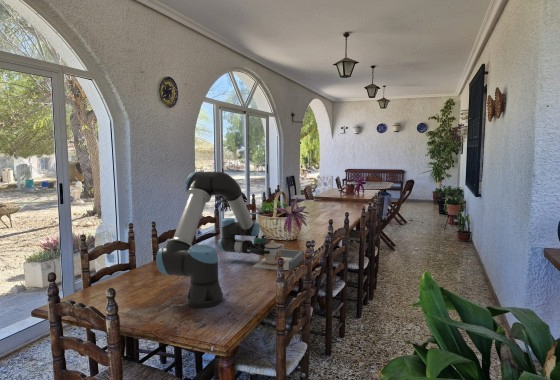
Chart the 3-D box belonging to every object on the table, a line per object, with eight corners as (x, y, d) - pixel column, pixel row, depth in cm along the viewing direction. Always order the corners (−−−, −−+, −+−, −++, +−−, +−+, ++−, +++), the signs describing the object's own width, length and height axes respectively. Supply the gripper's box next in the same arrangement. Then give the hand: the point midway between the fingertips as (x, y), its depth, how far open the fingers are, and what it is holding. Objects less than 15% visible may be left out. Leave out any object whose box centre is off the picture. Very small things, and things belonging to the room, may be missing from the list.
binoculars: (271, 234, 241) (264, 235, 233) (271, 250, 242) (263, 253, 233) (259, 232, 246) (251, 234, 237) (259, 248, 246) (251, 251, 237)
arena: (291, 271, 198) (291, 262, 198) (253, 267, 206) (252, 258, 205) (303, 259, 219) (303, 250, 218) (268, 256, 226) (268, 248, 226)
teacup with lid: (277, 264, 203) (277, 243, 201) (262, 263, 206) (261, 242, 205) (285, 258, 214) (285, 238, 213) (270, 257, 217) (270, 237, 216)
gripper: (253, 247, 227) (287, 250, 220) (234, 259, 205) (272, 262, 197) (252, 235, 226) (287, 237, 219) (234, 245, 204) (271, 248, 196)
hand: (280, 249), depth 208 cm, fingers closed on teacup with lid, 12 cm apart
